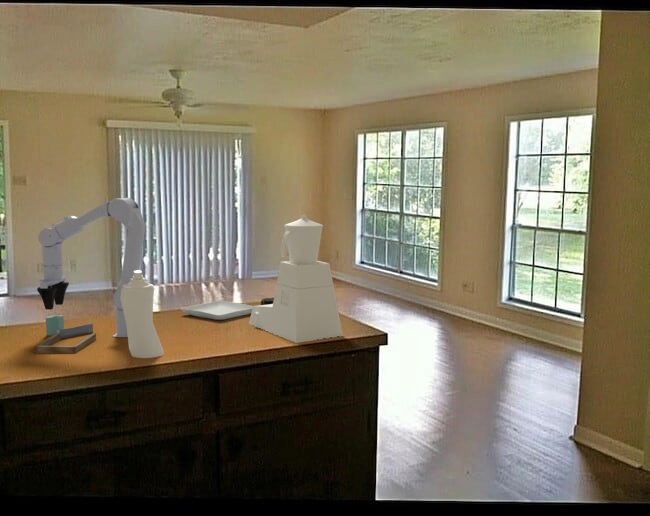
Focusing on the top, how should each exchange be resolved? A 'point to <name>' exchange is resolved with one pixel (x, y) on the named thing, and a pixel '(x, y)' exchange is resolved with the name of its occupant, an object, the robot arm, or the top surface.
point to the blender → (301, 290)
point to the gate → (76, 330)
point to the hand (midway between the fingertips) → (54, 306)
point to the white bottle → (140, 317)
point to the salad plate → (218, 310)
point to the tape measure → (267, 301)
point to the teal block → (54, 324)
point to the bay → (47, 348)
